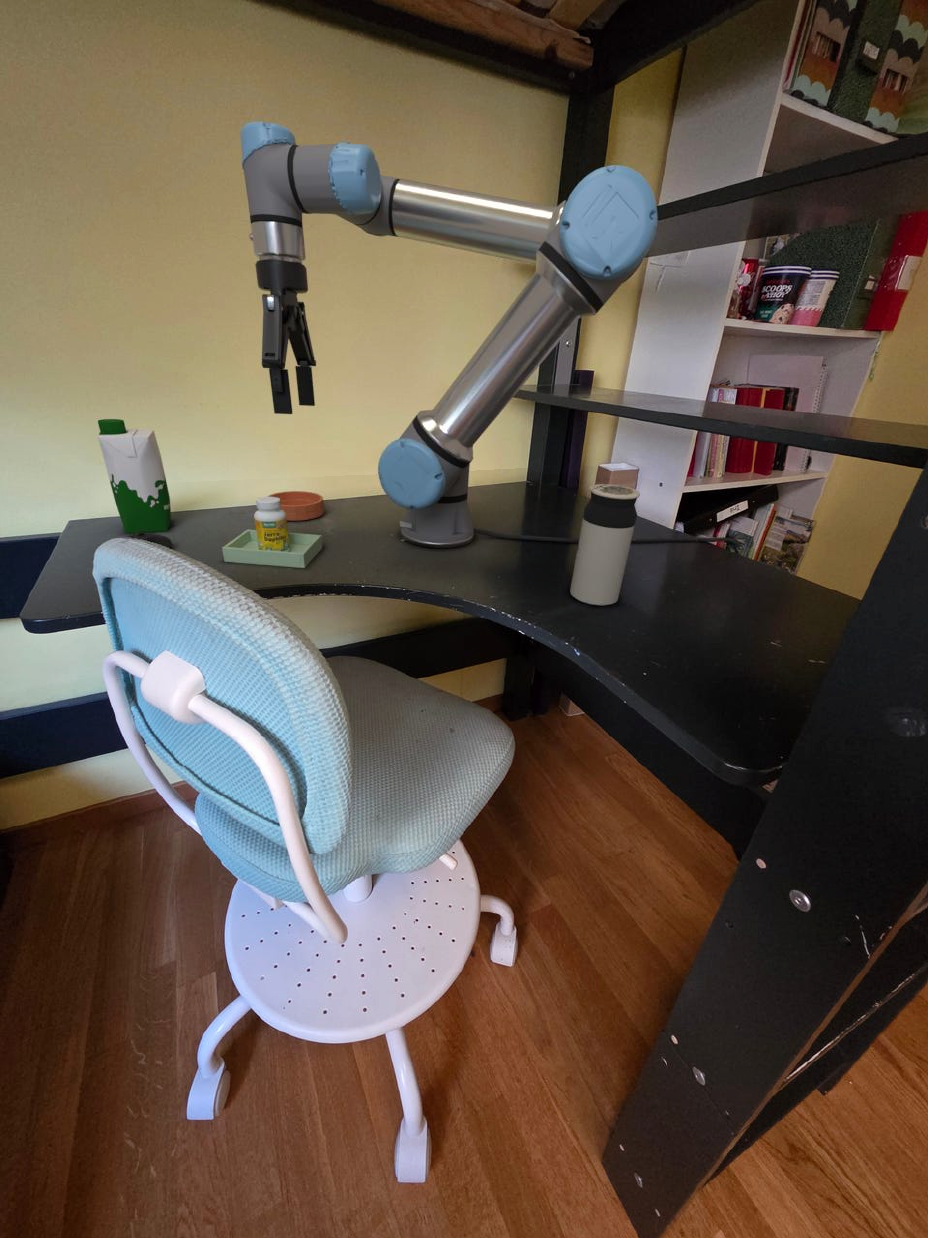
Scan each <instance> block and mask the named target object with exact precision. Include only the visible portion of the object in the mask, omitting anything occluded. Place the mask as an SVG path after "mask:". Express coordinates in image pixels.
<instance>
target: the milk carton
mask: <svg viewBox="0 0 928 1238" xmlns="http://www.w3.org/2000/svg"><path fill="white" fill-rule="evenodd" d="M97 424H98V430H99V432H98V436H97V439H98V442H99V446H100V450H101V453H102V456H103V459H104V460H103V461H104V465H105V468H106V472H107V476H108V480H109V484H110V487H111V491H112V494H113V499H114V503H115V505H116V509H117V512H118V515H119V518H120V520H121V524H122V526H123V530H124V532H125V534H135V533H138V532H144V533H157V532H158V533H159V532H161V533H162V532H168V531H169V527H170V524H171V521H172V516H171V515H172V511H171V497H170V492H169V488H168V482H167V478H166V473H165V468H164V464H163V458H162V455H161V451H160V447H159V444H158V441H157V437H156V434H155V430H154V429H138V428H129V429H127V427H126V424H125V420H124V419H119V418H103V419H98V420H97Z"/></svg>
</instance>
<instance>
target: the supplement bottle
mask: <svg viewBox="0 0 928 1238" xmlns="http://www.w3.org/2000/svg"><path fill="white" fill-rule="evenodd" d="M255 505H256V508H257V509H258V510H256V511H255V513H254V515H253V519H254V525H255V530H256V533H257V540H258V547H259V550H271V551H283V552H289V550H290V544H289V536H288V533H289V528H288V520H287V518H286V513H285V512H284V511H283V510H282V509H280V508H281V501H280V499H279V498H277V497H267V496H263V497H258V498H257V499H256V500H255Z"/></svg>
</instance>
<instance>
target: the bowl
mask: <svg viewBox="0 0 928 1238" xmlns="http://www.w3.org/2000/svg"><path fill="white" fill-rule="evenodd" d="M266 497H277V498H279V499H280V501H281V508H280V509H282V510H283V511H284V512H285V513H286V518H287V521H292V522H297V521H307V520H312V519H316V518H319V517H321V516H323V515H324V514H325V507H324V506H325V505H324V496H323V495H321V494H319V493H316V492H312V491H311V492H310V491H302V490H301V491H300V490H290V491H281V492H275V493H272V494H269V495H267V496H266Z"/></svg>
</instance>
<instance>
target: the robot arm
mask: <svg viewBox="0 0 928 1238" xmlns="http://www.w3.org/2000/svg"><path fill="white" fill-rule="evenodd" d="M240 144H241V145H240V146H241V167H242V170H243V175H244V182H245V189H246V196H247V197H246V198H247V204H248V211H249V222H250V229H251V230H250V231H251V233H249V235H248V238H249V240H250V241H251V242H252V245H253V252H254V253H253V254H254V256H255V257H256V258H258V259H259V260H256V263H254V265H255V266H254V267H255V271H256V272H255V273H256V281H257V287H258V288H259V289H260V290H261V291H263V292H270V293H269V294H268V293H267V294H266V293H262V294H261V301H262V341H261V346H262V347H261V367H262V368H263V369H268V373H269V381H270V388H271V396H272V405H273V413H274V414H276V415H279V414H280V415H293V413H294V412H293V404H292V396H291V386H290V377H289V369H287V368H286V361H287V356H288V346H289V344H290V346H291V347H290V348H291V350H292V352H293V356H294V358H295V362H296V365H295V366H294V367H295V368H294V369H295V376H296V377H295V378H296V387H297V388H296V389H297V397H298V405H299V406H302V407H303V406H304V407H305V406H307V407H315V406H316V401H315V391H314V380H313V368H312V367H317V360H316V359H315V355H314V350H313V345H312V340H311V336H310V335H311V334H310V330H309V325H308V320H307V316H306V305H305V302H304V301H299V300H298V294H307V292H309V283H308V271H307V267H306V266H305V265H304V264H303V262H305V261H306V259H307V256H306V247H305V246H306V245H305V237H304V236H305V235H304V234H305V233H304V227H303V214H305V215H312V214H313V215H314V214H316V215H317V214H318V215H319V214H320V215H321V214H322V215H334V216H337V217H339V218H341V219H343V220H345V221H347V222H349V223H350V224H353V225H355V226H356V227H358V228H359V229H361V230H362V231H363V232H365V233H366V234H368V235H372V236H375V237H383V238H384V237H387V236H390V237H395V238H402V239H406V240H411V241H417V242H420V243H425V244H431V245H435V246H440V247H446V248H451V249H455V250H461V251H465V252H469V253H470V252H471V253H476V254H480V255H484V256H489V257H495V258H499V259H505V260H510V261H514V262H519V263H524V264H527V265H528V264H529V265H533V266H535V272H534V274H533V275H532V277H531V278H529V280H528V282H527V283H526V285H524V287H523V289H521V291H520V292H519V294H518V295H517V297H516V298H515V299H514V300H513V302H512V303H511V304H510V306H509V307H508V308H507V310H506V311H505V312H504V314H503V315H502V317H501V318H500V319H499V320H498V322H497V323H496V325H495V326H493V329H492V330H491V331H490V333H489V334H488V335H487V336H486V338H485V339H484V340H483V342H482V343H481V345H480V346H479V347H478V348H477V350H476V351H475V352H474V354H472V357H471V358H470V359H469V361H468V362H467V363H466V364H465V366H464V367H463V368H462V370H461V371H460V373H458V375H457V377H456V378H455V379H454V380H453V382H452V383H451V385H449V387H448V389H447V390H446V391H445V393H444V394H443V396H442V397H440V399H439V400H438V402H437V403H436V405H435V406H434V407H433V408H432V409H426V410H420V411H419V412H417V414H416V415H415V416H414V418H413V419H412V420H411V422H410V423H409V424H408V425H407V427H406V429H405V430H404V431H403V432H402V433H401V435H400V436H399V438H397V439H395V440H393V441H392V442H390V443H389V444H387V446H386V447H385V449H384V450H383V451H382V453H381V455H380V457H379V460H378V465H377V474H378V479H379V484H380V486H381V488H382V490H383V491H384V493H385V494H386V496H387V497H388V498H389V499H390V500H391V501H392V502H393V503H395V504H396V505H398V506H399V507H402V508H403V509H406V511H405V513H404V516H403V519H402V520H399V527H401V528H400V536H401V538H402V539H403V540H404V541H405V542H408V543H409V544H412V545H415V546H419V547H423V548H428V549H429V548H431V549H455V548H460V547H464V546H466V545H469V544H471V543H472V542H473V540H474V535H475V534H479V535H484V536H489V537H493V538H498V539H504V540H505V539H506V540H520V541H538V542H553V543H571V544H572V543H573V544H578V543H579V538H575V537H573V538H572V537H556V536H555V537H554V536H540V535H522V534H507V533H506V534H505V533H499V532H494V531H489V530H485V529H481V528H476V527H474V524H473V520H472V516H471V513H470V512H471V511H470V508H469V504H468V494H469V482H470V481H469V479H470V466H471V465H470V464H471V463H472V462H473V460H474V445H475V444H476V443H477V442H478V440H479V439H480V437H481V436H482V435H483V434H484V433H485V432H486V430H487V429H488V428H489V427H490V426H491V424H492V423H493V422H494V421H495V419H496V418H497V417H498V416H499V415H500V413H502V411H503V410H504V409H505V407H506V406H507V405H508V404H509V403H510V401H511V400H513V398H514V397H515V396H516V394H517V393H518V392H519V391H520V389H521V388H522V387H523V386H524V385H525V384H526V382H527V381H528V380H529V379H530V378H531V376H532V375H533V374H534V373H535V371H536V370H537V369H538V368H539V367H540V365H541V364H542V363H543V362H544V361H545V360H546V359H547V357H548V356H549V355H550V353H551V352H552V351H553V350H554V349H555V348H556V346H557V345H558V344H559V343H560V341H561V340H562V339H563V338H564V337H565V335H566V334H567V333H568V332H569V330H570V329H572V327H573V326H574V324H575V323H576V322H577V321H578V320H579V319H581V318H585V317H591V316H596V315H597V314H598V313H599V311H600V310H601V309H602V308H603V307H604V306H605V305H606V304H607V302H608V301H609V300H610V299H611V298H612V296H613V295H614V294H615V293H616V291H618V289H619V288H620V287H621V285H622V284H625V283H626V282H627V281H628V280H629V279H631V278H632V276H633V275H634V274H635V273H636V272H637V271H638V269H639V268H640V266H641V264H642V262H643V261H644V259H645V257H646V256H647V254H648V253H649V252H650V250H651V247H652V246H653V243H654V240H655V237H656V234H657V226H658V217H659V216H658V207H657V201H656V196H655V194H654V190H653V189H652V186H651V184H650V183H649V182H648V180H647V179H646V177H644V176H643V175H642V174H641V173H640V172H638V171H637V170H636V169H634V168H632V167H629V166H625V165H619V164H616V165H615V164H614V165H612V164H611V165H606V166H603V167H602V166H601V167H599V168H597V169H595V170H593V171H591V172H590V173H589V174H587V175H586V176H585V177H583V179H582V180H580V181H579V182H578V184H576V186H575V187H574V189H573V190H572V191H571V192H570V194H569V196H568V198H567V200H565V199H564V200H562V202H561V203H559V204H558V205H557V206H551V205H545V204H539V203H535V202H529V201H523V200H517V199H512V198H507V197H502V196H495V195H491V194H485V193H480V192H475V191H471V190H470V191H469V190H464V189H458V188H453V187H448V186H443V185H437V184H431V183H425V182H422V181H415V180H409V179H406V178H398V177H393V176H388V175H383V174H381V170H380V167H379V163H378V161H377V159H376V156H375V152H374V151H373V150H372V149H371V148H370V147H369V146H368V145H366V144H361V143H360V144H359V143H350V142H347V141H343V142H338V143H328V144H327V143H326V144H305V145H304V144H302V145H301V144H299V145H298V144H297V142H296V138H295V135H294V133H293V132H292V131H291V130H290V129H289V128H288V127H285V126H284V125H281V124H278V123H274V122H265V121H262V120H261V121H251V122H247V123H246V124H244V125H243V126H242V128H241V130H240ZM692 537H693V538H696V539H699V540H702V541H705V542H704V543H720V542H723V543H724V542H726V543H731V544H733V546H735V547H736V548H741V547H742V546H741V544H740V542H738V541H737V540H735V539H734V538H732V537H726V536H725V537H701V536H700V537H698V536H692ZM691 540H693V541H691ZM671 542H672V543H673V542H675V543H677V542H682V543H683V542H696V541H695V540H694V539H691V538H690V540H688V538H687V539H684V538H680V539H636V540H631V544H635V543H636V544H637V543H639V544H640V543H671ZM699 542H701V541H699Z"/></svg>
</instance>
